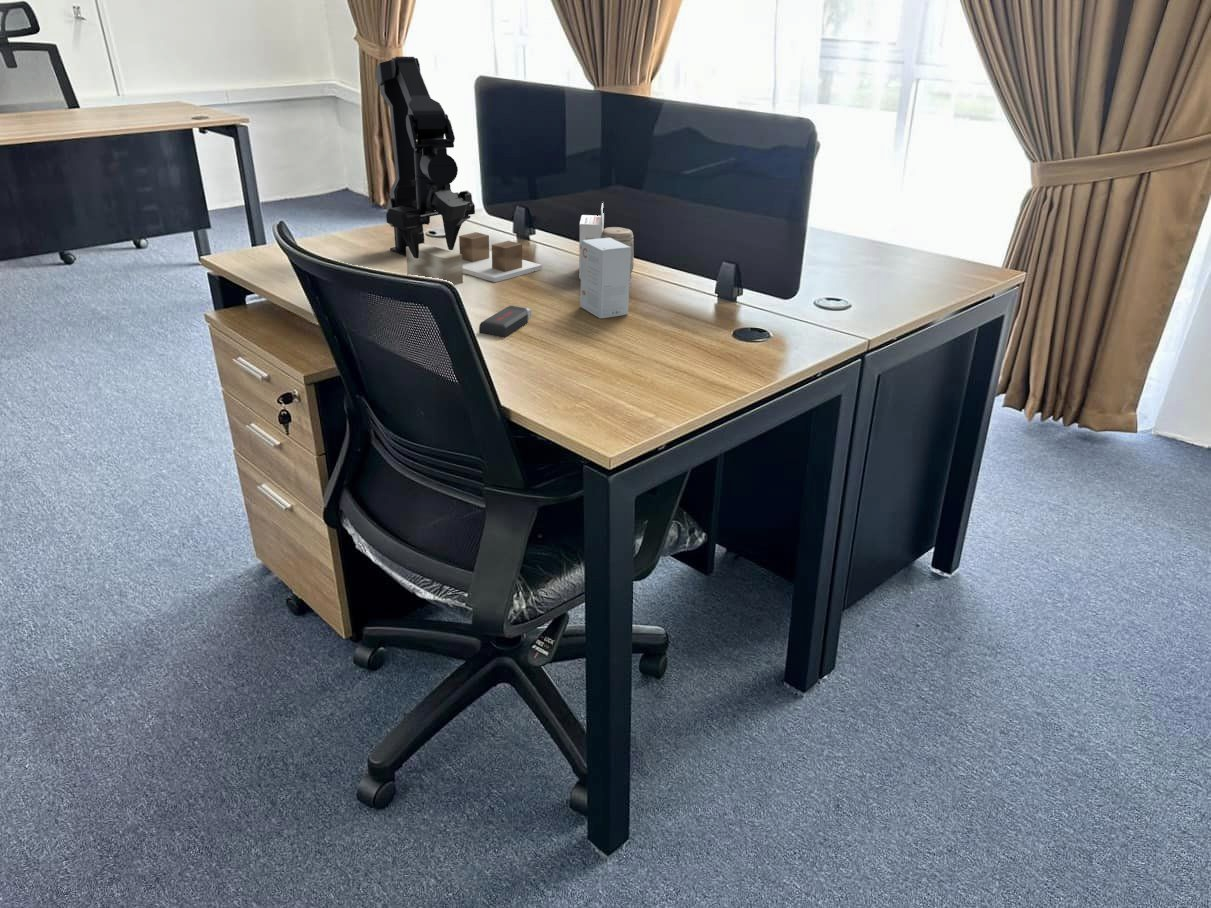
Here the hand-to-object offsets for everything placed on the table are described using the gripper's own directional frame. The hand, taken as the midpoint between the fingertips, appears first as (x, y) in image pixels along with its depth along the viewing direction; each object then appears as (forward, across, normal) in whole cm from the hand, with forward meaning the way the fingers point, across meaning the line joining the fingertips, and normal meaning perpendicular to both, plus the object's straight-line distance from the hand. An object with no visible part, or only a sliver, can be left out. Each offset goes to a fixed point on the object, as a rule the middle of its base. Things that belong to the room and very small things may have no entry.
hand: (433, 253), depth 192 cm
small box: (+5, +9, -38) cm, 40 cm away
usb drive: (+6, -10, -31) cm, 33 cm away
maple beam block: (+5, 0, 0) cm, 5 cm away
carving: (+5, +22, -30) cm, 38 cm away
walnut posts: (+5, +14, -2) cm, 15 cm away
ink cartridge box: (+5, +26, -20) cm, 33 cm away
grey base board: (+5, +14, -2) cm, 15 cm away
